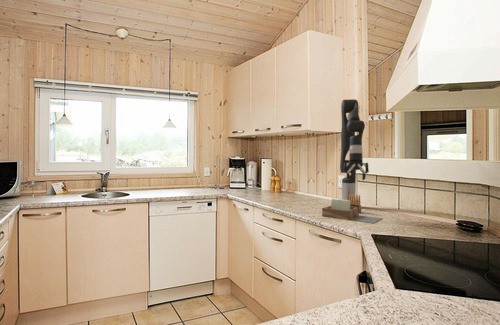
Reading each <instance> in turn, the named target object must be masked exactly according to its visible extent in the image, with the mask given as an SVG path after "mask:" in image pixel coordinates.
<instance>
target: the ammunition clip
mask: <svg viewBox="0 0 500 325" xmlns="http://www.w3.org/2000/svg"><path fill="white" fill-rule="evenodd" d="M346 200H350V207H359V214H362V205H361V195H360V194H356V193H355V194H354V198H353V194H352V195H351V194H349V195H348V193H347V199H346Z"/></svg>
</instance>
